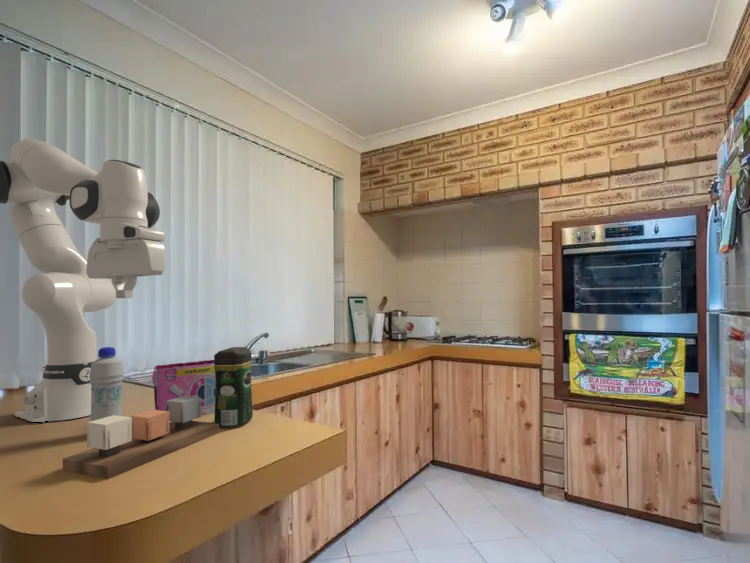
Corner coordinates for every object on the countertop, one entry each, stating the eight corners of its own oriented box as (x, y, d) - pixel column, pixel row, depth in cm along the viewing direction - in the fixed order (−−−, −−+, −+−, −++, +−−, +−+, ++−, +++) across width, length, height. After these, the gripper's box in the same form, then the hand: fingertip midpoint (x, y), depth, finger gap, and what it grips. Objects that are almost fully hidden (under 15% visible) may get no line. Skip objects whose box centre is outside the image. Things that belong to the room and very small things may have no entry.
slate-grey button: (166, 421, 90) (166, 400, 91) (184, 415, 95) (184, 395, 95) (183, 423, 89) (182, 402, 89) (200, 416, 93) (200, 397, 93)
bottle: (93, 431, 97) (94, 346, 98) (126, 428, 99) (126, 344, 100) (84, 440, 90) (85, 349, 91) (119, 436, 93) (120, 347, 94)
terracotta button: (130, 438, 83) (130, 415, 83) (152, 430, 87) (152, 409, 87) (148, 440, 81) (148, 417, 81) (169, 432, 85) (169, 411, 85)
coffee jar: (226, 417, 106) (226, 345, 107) (256, 417, 105) (256, 345, 106) (208, 429, 96) (208, 350, 97) (241, 429, 96) (240, 349, 97)
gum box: (153, 424, 102) (154, 369, 102) (148, 417, 108) (148, 366, 109) (248, 407, 116) (247, 359, 117) (238, 402, 123) (238, 357, 123)
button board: (62, 469, 74) (63, 438, 74) (180, 427, 98) (180, 404, 98) (107, 479, 69) (108, 446, 70) (219, 432, 94) (219, 408, 94)
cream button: (87, 446, 75) (87, 422, 75) (113, 438, 79) (113, 415, 80) (105, 450, 73) (105, 424, 73) (131, 440, 77) (131, 417, 78)
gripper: (78, 236, 90) (77, 299, 89) (144, 228, 82) (144, 296, 82) (106, 240, 96) (105, 299, 95) (170, 232, 88) (170, 296, 87)
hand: (124, 298), depth 88 cm, fingers closed
